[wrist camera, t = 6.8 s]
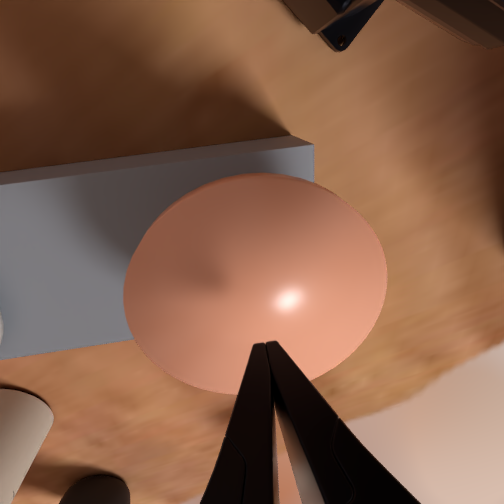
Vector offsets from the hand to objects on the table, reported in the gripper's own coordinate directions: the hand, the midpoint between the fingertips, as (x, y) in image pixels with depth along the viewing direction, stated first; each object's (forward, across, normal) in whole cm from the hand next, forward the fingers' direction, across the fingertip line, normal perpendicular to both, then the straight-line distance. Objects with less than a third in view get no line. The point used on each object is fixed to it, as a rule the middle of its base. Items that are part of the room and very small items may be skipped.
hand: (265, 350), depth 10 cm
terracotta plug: (+9, 0, 0) cm, 9 cm away
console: (+13, +10, 0) cm, 16 cm away
